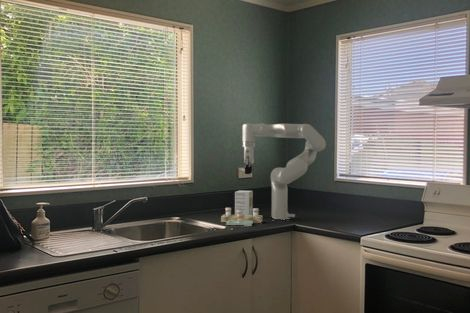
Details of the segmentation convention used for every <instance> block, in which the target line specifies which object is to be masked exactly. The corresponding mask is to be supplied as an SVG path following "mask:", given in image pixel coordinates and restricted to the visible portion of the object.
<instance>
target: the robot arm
mask: <svg viewBox="0 0 470 313" xmlns="http://www.w3.org/2000/svg"><path fill="white" fill-rule="evenodd" d="M241 129H242V131H241V132H242V133H241V134H242V135H241V137H242V139H241V140H242V142H241V144H242V146H241V147H242V148H243V159H244V160H243V163H244V174H245V175H251V174H252V173H253V165H254V163H255V159H254V156H255V155H254V154H255V153H254V152H255V151H254V148H255V147H256V137H265V138H266V137H271V138H278V139H279V138H283V139H284V138H285V139H305V140H306V141H305V146H304V147H305V148H304V150H303V152H301V153H300V154H298V155H297V156H295V157H294V158H292V159H290V160H288V161H287V163H286V165H285V166H284V167H275V168H273V169H272V170H271V173H270V183H271V217H272V218H274V219H281V220H282V219H283V220H285V219H290V220H291V218H295V217H296V214H295V213H294V214H293V213H289V212H288V194H289V192H288V184H291V183H293V182H294V181H296V180H298V179H299V178H300V177H302V176H304V175H305V174H306V173H307V170H308V168H309V166H310V165H311V164H313V162H315V160H316V158H317V153H318V152H322V151H324V150H325V148H326V145H327V144H326V143H327V142H326V140H325V139H324V137H323V136H322V135H321V134H320V133H319V132H318V131H317V130H316V129H315V127H313V126H312V125H311V124H308V123H302V124H301V123H274V124H266V123H264V122H263V123H262V122H261V123H243V125H242V126H241Z"/></svg>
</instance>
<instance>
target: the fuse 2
mask: <svg viewBox="0 0 470 313" xmlns="http://www.w3.org/2000/svg"><path fill="white" fill-rule="evenodd" d="M259 211H260V209H259V208H257V207H256V208H255V207H254V208H253V217H258V215H259Z"/></svg>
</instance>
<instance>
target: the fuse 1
mask: <svg viewBox="0 0 470 313" xmlns="http://www.w3.org/2000/svg"><path fill="white" fill-rule="evenodd" d="M225 215H226V216H231V215H232V208H231V207H225Z"/></svg>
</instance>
